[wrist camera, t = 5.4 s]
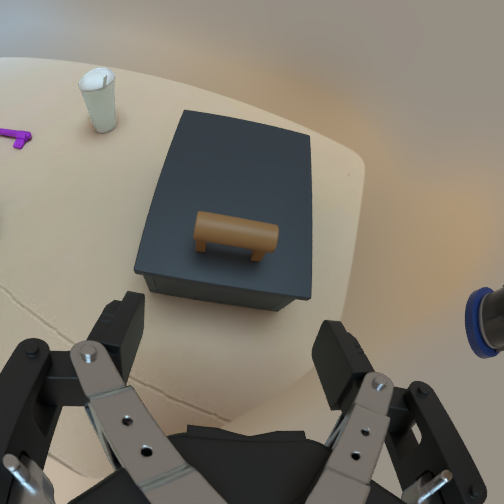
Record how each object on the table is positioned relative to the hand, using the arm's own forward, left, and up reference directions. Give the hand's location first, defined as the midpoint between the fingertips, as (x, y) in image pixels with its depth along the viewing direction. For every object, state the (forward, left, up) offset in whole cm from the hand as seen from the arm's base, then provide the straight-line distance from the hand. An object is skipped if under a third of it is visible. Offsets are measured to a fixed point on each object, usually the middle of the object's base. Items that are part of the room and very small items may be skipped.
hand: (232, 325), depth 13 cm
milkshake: (+31, -5, -16) cm, 35 cm away
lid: (+9, -9, -8) cm, 14 cm away
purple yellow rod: (+43, +11, -16) cm, 47 cm away
